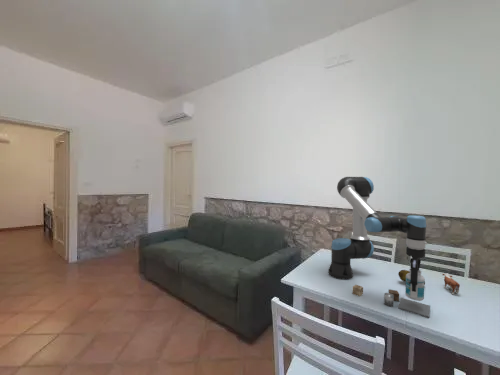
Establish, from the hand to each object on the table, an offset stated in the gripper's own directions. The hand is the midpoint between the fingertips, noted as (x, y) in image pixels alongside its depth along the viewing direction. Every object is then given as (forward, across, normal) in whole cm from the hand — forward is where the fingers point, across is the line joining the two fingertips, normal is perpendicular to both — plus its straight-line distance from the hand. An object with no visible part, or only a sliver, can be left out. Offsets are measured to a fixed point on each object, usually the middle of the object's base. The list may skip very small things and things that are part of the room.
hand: (414, 294), depth 113 cm
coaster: (+7, 0, 0) cm, 7 cm away
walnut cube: (+7, +4, +9) cm, 12 cm away
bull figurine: (+7, +36, -14) cm, 39 cm away
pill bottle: (+2, 0, 0) cm, 2 cm away
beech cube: (+7, -3, +25) cm, 26 cm away
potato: (+7, +30, +4) cm, 31 cm away
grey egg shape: (+7, -4, +10) cm, 13 cm away
